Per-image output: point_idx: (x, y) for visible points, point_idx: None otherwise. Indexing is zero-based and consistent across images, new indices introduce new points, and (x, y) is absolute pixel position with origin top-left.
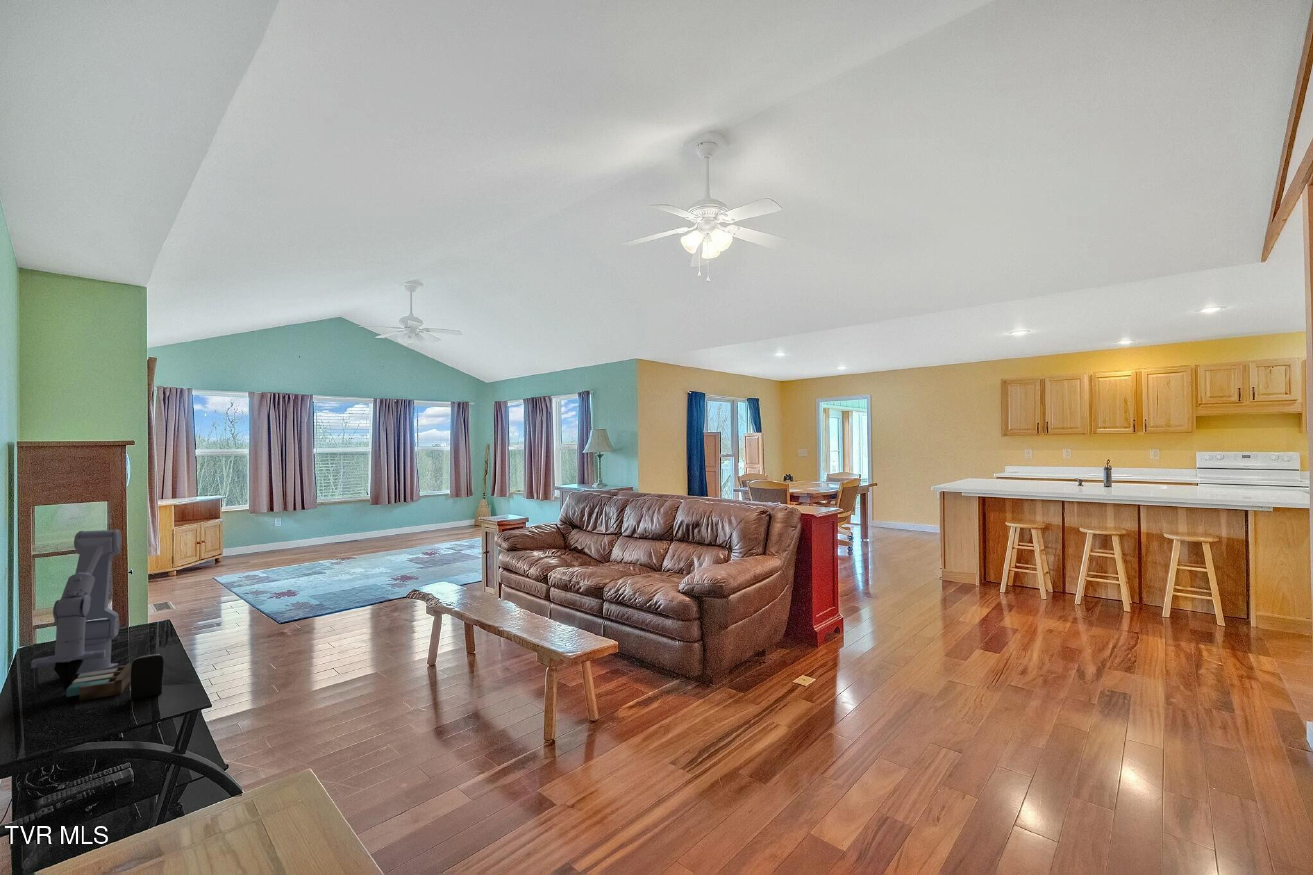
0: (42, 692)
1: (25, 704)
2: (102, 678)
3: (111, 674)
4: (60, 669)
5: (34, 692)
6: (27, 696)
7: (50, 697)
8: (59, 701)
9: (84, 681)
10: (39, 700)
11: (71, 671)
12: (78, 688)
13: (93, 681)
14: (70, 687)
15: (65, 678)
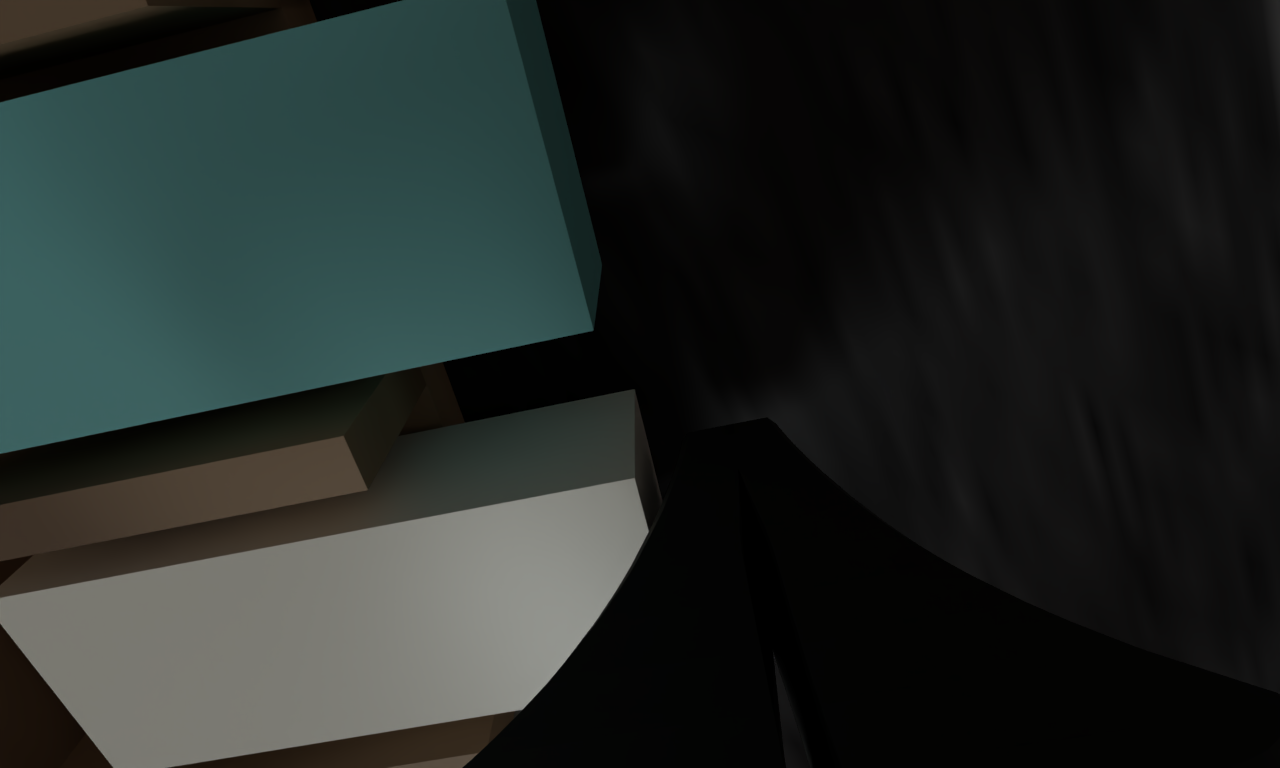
0: (1113, 612)
1: (1236, 111)
2: (77, 535)
3: (107, 726)
4: (1040, 725)
5: (1212, 644)
6: (1271, 518)
7: (931, 353)
8: (682, 49)
9: (425, 508)
10: (1058, 258)
11: (646, 687)
12: (264, 45)
13: (164, 412)
14: (461, 82)
15: (784, 538)
